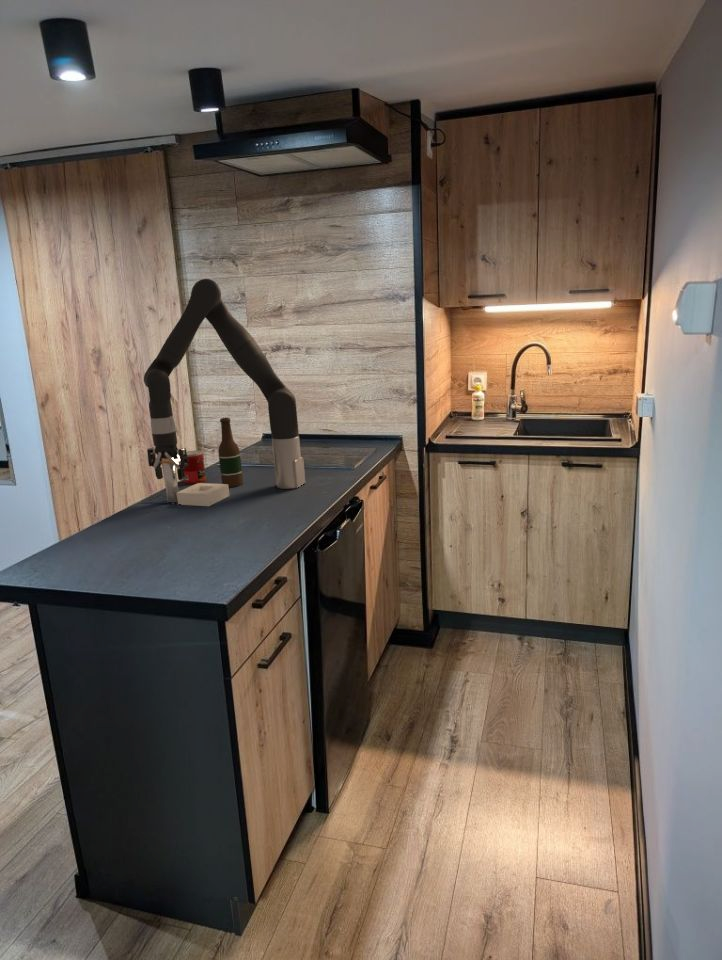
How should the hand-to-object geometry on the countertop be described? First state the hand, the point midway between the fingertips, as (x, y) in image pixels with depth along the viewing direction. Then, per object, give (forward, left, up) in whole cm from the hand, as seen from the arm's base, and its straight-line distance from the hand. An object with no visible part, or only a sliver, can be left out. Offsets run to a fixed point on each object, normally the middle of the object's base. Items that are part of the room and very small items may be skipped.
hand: (170, 479), depth 223 cm
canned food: (+8, -24, -8) cm, 27 cm away
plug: (0, 0, -8) cm, 8 cm away
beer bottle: (-9, -22, -8) cm, 25 cm away
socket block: (-10, -3, -8) cm, 13 cm away
